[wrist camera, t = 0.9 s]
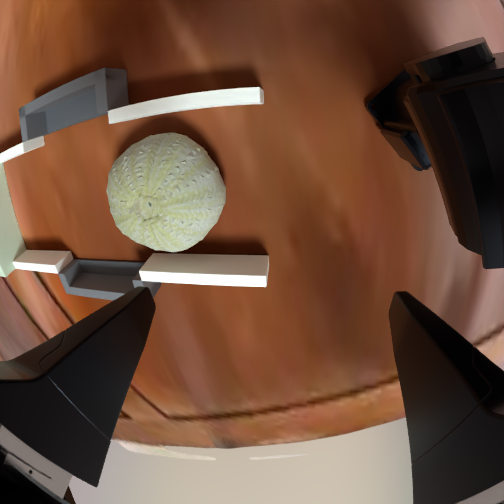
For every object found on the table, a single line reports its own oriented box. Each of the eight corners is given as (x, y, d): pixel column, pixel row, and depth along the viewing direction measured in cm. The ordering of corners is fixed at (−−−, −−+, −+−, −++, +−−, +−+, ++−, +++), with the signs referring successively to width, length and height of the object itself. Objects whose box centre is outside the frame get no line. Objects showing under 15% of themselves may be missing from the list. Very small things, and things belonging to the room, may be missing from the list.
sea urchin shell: (95, 143, 18) (113, 146, 12) (183, 127, 22) (236, 128, 16) (114, 246, 22) (141, 291, 17) (191, 221, 26) (240, 252, 21)
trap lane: (261, 46, 15) (256, 36, 12) (269, 290, 25) (266, 312, 22) (-2, 129, 19) (-20, 135, 16) (35, 273, 29) (23, 285, 26)
